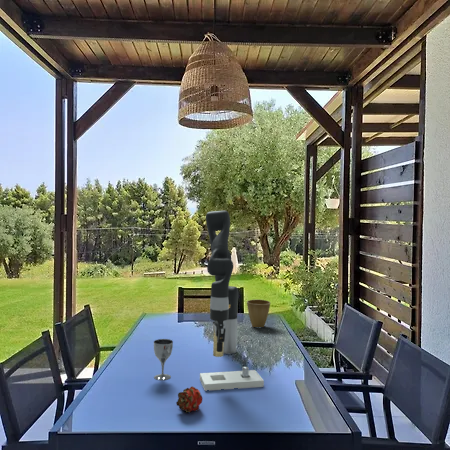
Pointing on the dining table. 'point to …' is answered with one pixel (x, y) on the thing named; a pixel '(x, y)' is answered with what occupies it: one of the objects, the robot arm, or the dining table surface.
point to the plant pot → (258, 312)
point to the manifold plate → (230, 380)
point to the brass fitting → (215, 353)
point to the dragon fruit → (189, 399)
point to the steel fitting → (245, 372)
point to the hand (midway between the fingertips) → (218, 349)
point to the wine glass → (163, 355)
